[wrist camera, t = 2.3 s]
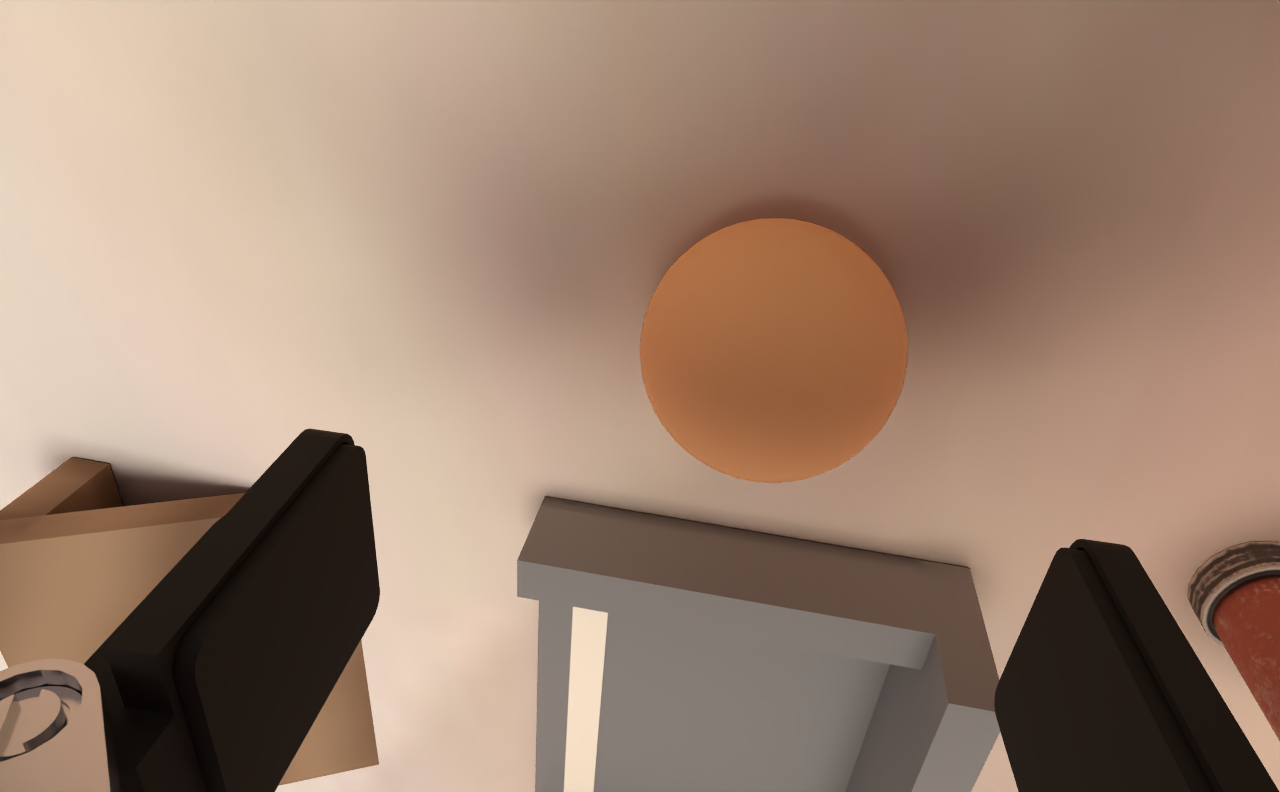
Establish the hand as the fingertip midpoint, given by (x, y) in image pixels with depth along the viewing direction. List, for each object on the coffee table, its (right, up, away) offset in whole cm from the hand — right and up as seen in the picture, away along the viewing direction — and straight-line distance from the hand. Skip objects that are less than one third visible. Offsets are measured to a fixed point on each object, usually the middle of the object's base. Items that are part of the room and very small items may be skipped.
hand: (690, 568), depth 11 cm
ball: (+2, +4, +7) cm, 8 cm away
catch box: (+2, -8, +14) cm, 16 cm away
